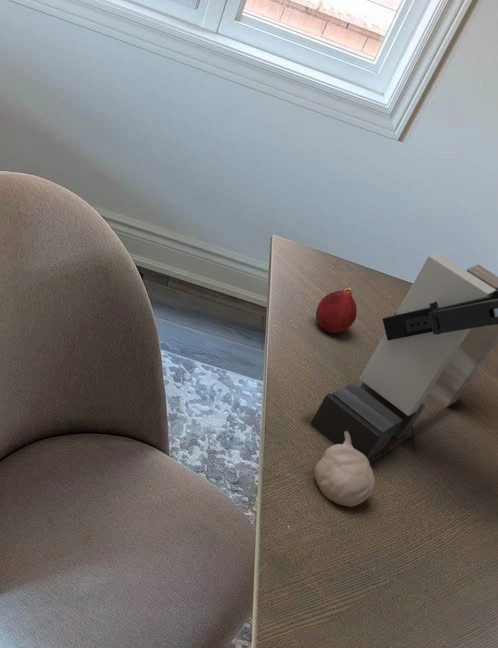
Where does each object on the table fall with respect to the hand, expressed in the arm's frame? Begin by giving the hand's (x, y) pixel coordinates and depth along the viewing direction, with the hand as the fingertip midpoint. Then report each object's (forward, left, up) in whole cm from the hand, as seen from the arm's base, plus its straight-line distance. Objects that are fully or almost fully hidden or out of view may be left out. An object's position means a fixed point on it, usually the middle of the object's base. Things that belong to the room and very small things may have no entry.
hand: (392, 326), depth 92 cm
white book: (-3, +2, -8) cm, 9 cm away
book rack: (-6, -2, -14) cm, 16 cm away
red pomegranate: (+3, -19, -15) cm, 24 cm away
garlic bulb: (+1, +17, -15) cm, 22 cm away
